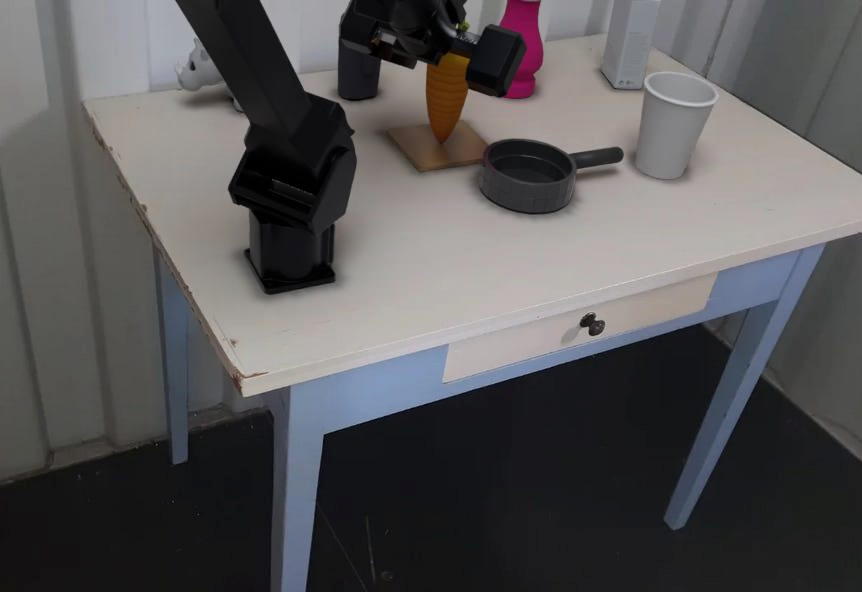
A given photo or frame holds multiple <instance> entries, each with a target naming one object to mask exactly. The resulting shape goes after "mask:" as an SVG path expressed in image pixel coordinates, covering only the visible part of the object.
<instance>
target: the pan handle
mask: <svg viewBox="0 0 862 592" xmlns="http://www.w3.org/2000/svg"><path fill="white" fill-rule="evenodd" d="M567 154H568V155H570V156H571V157H572V158H573V160H574V161H575V163H576V166H577V170H582V169H587V168H594V167H602V166H606V165H612V164H619V163H620V162H622V161H623V160H624V157H625V152H624V150H623V149H622V148H621V147H619V146H610V147H604V148H597V149H592V150H585V151H577V152H572V153H571V152H570V153H567Z"/></svg>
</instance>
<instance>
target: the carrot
mask: <svg viewBox="0 0 862 592" xmlns="http://www.w3.org/2000/svg"><path fill="white" fill-rule="evenodd" d="M470 27H471V24H469V23H468V22H467V21H466V18H465V19H464V21H463V23H462V25H460V24H457V29H461V30H464V31H467V32H468V30H469V29H470ZM459 39H460V38H459ZM469 61H470V59H467V58H464V57H461V56H458V55H455V54H452V53H449V52H448V53H447V54H446V55H445V56H442V58H441V60H440V62H439V64H438V67H436V66H433V65H430V64H427V63H426V72H425V73H426V74H425V75H426V76H425V102H426V111H427V117H428V121H429V124H430V125H431V128H432V131H433V133H434V135H435V138H436V139H437V140H438V142H439V143H443V142H445V141H446V140H447V138H448V137H449V136H450V134H451V133H452V131H453V129H454V127H455V126H456V124H457V122H458V120H460V118H461V115H462V112H463V109H464V106H465V103H466V100H467V96H468V95H469V94H468V93H469V89H468V87H469V85H467V83H466V81H465V76H466V68H467V65H468V63H469Z"/></svg>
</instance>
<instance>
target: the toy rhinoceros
mask: <svg viewBox="0 0 862 592" xmlns="http://www.w3.org/2000/svg"><path fill="white" fill-rule="evenodd" d="M193 42H194V44H195V47H194V48H193V49H192V51H191V52H190V53H188V54H189V55H188V61H187V63H182V67H181V66H180V65H179V64H180V63H179V61H178V59H176V60H175V62H174V64H173V70H174V72H175V74H176V76H177V82H178V84H179V86H180V87H181V88H182V89H183V90H185V91H187V92H197V91H199V90H200V89H201V88H203V87H205V86H214V85H217V84H219V83H220V82H225V81H224V79H223V78H222V76H221V74H220V73H219V71H218V69H217V68H216V66H215V65H214V63H213V61H212V60H211V58H210V56H209V55H208V53H207V52H206V50H205V48H204V47H203V45H202V43H201V42H200V40H199V38H198V37H194V38H193ZM225 93H226V96H228V97H230V98H231V99H233V105H234V108H235V110H237V111H240V112H243V110H242V109H241V107H240V105H239V104H238V102H237V100H236V99H235V97H234V95H233V94H232V92H231V91H230V89H229V87H228V86H227V84H226V83H225Z"/></svg>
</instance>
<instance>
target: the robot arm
mask: <svg viewBox="0 0 862 592" xmlns="http://www.w3.org/2000/svg"><path fill="white" fill-rule="evenodd" d="M174 2H175V3H176V4H177V6H178V7H179V9H180V11H181V12H182V14H183V16H184V17H185V19H186V21H187V22H188V24H189V25H190V27H191V29H192V30H193V32H194V34H195V35H196V38H197V39H198V40H199V41H200V43H201V44H202V45H203V47H204V48H205V50H206V52H207V53H208V55H209V56H210V58H211V60H212V61H213V63H214V65H215V66H216V68H217V69H218V71H219V73H220V74H221V76H222V78H223V79H224V81H223V82H224V83H225V85H226V84H227V86H228V87H229V89H230V91H231V92H232V94H233V95H234V97H235V99H236V100H237V102H238V104H239V105H240V107H241V109H242V110H243V111H242V112H243V113H244V115H245V117H246V118H247V120H248V122H249V125H248V128H247V131H246V133H245V135H244V138H243V144H244V146H245V149H244V152H243V154H242V156H241V158H240V161H239V162H238V164H237V167H236V169H235V171H234V173H233V175H232V177H231V179H230V181H229V183H228V186H227V191H228V193H229V197H230V199H231V202H232V204H233V205H236V206H241V207H243V208H246V209H248V226H249V227H248V231H249V232H248V233H249V247H248V248H245V249H244V250H243V257H244V258H245V260H246V262H247V264H248V265H249V268H250V269H251V271H252V272H253V274H254V276H255V277H256V279H257V281H258V283H259V285H260V287H261V289H262V290H263V292H265V293H266V294H275V293H280V292H286V291H289V290H295V289H300V288H305V287H310V286H315V285H320V284H326V283H330V282H334V281H335V280H336V272H335V271H334V270H333V268H332V266H331V265H330V264H333V263H334V261H335V242H336V241H335V239H336V224H335V223H336V222H337V221H339V220H340V219H341V218H342V217H343V216H345V214H346V213H347V208H348V204H349V200H350V195H351V192H352V188H353V183H354V180H355V175H356V171H357V165H358V156H357V154H356V147H355V146H356V145H355V143H354V140H353V138H352V136H354V135H355V134H356V130H355V129H353V128H352V127H351V125H350V124H349V122H348V118H347V115H346V112H345V109H344V108H343V106H342V105H341V104H340V102H338V101H334V100H332V99H329V98H326V97H323V96H320V95H317V94H314V93H312V92H309V91H306V90H305V89H304V86H303V85H302V82H301V81H300V79H299V76H298V74H297V72H296V70H295V68H294V66H293V64H292V62H291V60H290V57H289V56H288V54H287V52H286V50H285V47H284V46H283V43H282V42H281V39H280V38H279V36H278V34H277V32H276V30H275V27H274V25H273V23H272V21H271V20H270V17H269V15H268V13H267V11H266V9H265V7H264V5H263V3H262V1H261V0H174ZM467 2H468V0H349V2H348V5H347V6H346V9H345V10H344V12H343V13H344V15H343V17H342V19H341V18H340V19H341V21H340V20H339V24H338V32H337V33H338V37H339V36H340V39H341V40H342V42H343V43H344V44H345V46H346V47H348V48H351V49H354V50H357V51H358V52H360V53H363V54H366V55H369V56H372V57H375V58H378V59H381V61H383V62H388V63H391V64H394V65H397V66H400V67H403V68H405V69H406V68H407V69H409V70H415V68H416V66H417V63H418V62H421V63H425V64H426V65H427V64H430V65H433V66H436V67H438V64H439V62H440V60H441V58H442V56H445V55H446V54H447V53H448V52H449V53H452V54H455V55H458V56H461V57H464V58H467V59H470V61H469V63H468V65H467V68H466V76H465V81H466V83H467V85H469V87H468V90H470V91H474V92H477V93H479V94H483V95H486V96H487V97H488V96H489V97H495V98H498V99H501V98H504V97H503V96H505V95H507V93H508V91H509V89H510V87H511V84H512V82H513V80H514V78H515V76H516V73H517V71H518V69H519V67H520V65H521V62H522V60H523V58H524V56H525V53H526V51H527V46H526V43H525V40H524V38H523V36H522V33H519V32H516V31H513V30H510V29H507V28H503V27H500V26H499V25H496V24H493V23H489V24H487V25H486V26H484V28H483V30H482V33H481V34H476V33H473V32H470V31H468V30H467V31H464V30H461V29H458V27H457V26H458V24H460V25H462V23H463V21H464V19H465V20H466V17H467V15H468V14H467V11H466V9H465V7H464V6H465V4H466V3H467ZM459 38H460V39H459Z"/></svg>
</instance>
